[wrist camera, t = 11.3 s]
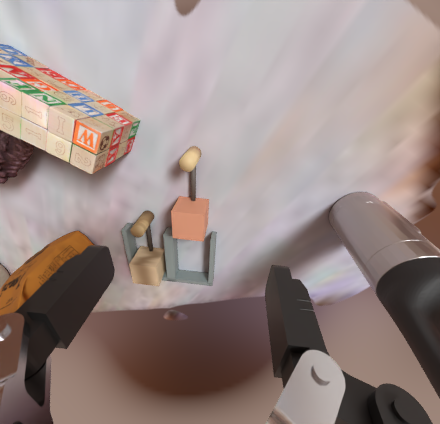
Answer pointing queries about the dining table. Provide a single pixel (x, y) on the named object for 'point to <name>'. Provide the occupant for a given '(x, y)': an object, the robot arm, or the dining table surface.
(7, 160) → the pine cone
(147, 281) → the birch block
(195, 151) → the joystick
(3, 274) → the canister
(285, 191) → the dining table surface
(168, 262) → the shelf rack
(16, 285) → the coffee package
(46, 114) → the stack of blocks
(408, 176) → the dining table surface
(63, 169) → the dining table surface
